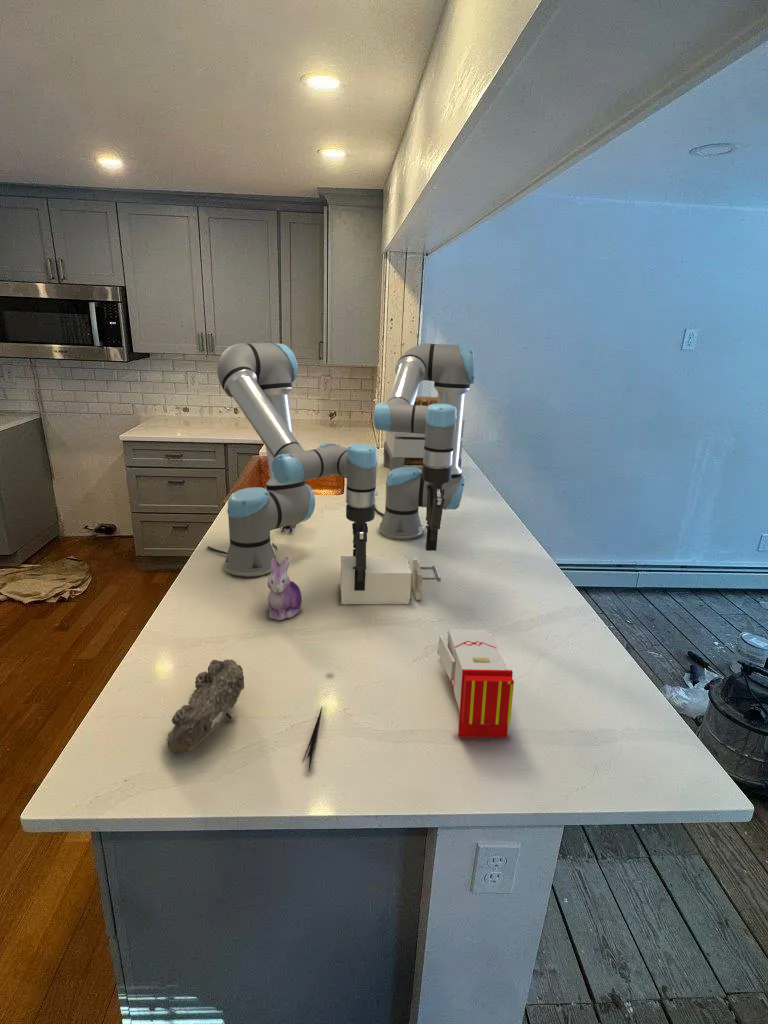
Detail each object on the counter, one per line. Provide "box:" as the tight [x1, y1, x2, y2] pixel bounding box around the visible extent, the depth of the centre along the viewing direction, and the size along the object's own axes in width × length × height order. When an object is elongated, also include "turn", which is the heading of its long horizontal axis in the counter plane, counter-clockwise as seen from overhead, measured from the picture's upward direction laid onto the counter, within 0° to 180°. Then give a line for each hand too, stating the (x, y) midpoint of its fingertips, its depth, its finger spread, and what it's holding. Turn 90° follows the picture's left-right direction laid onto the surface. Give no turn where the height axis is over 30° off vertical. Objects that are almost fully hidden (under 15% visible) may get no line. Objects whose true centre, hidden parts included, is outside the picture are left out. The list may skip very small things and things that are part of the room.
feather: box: [301, 673, 332, 771], centre depth 108 cm, size 2×28×2 cm
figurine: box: [267, 556, 302, 621], centre depth 143 cm, size 9×10×15 cm
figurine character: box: [280, 524, 297, 533], centre depth 200 cm, size 7×8×15 cm
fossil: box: [166, 658, 245, 754], centre depth 106 cm, size 22×10×15 cm
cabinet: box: [340, 555, 412, 605], centre depth 155 cm, size 18×11×9 cm, turn 95°
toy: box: [437, 628, 515, 738], centre depth 117 cm, size 12×13×30 cm
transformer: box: [383, 395, 465, 472], centre depth 268 cm, size 34×33×41 cm
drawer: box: [408, 559, 442, 601], centre depth 156 cm, size 23×10×7 cm, turn 95°
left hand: (358, 580), depth 155 cm, fingers closed on cabinet, 11 cm apart
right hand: (430, 549), depth 154 cm, fingers closed
